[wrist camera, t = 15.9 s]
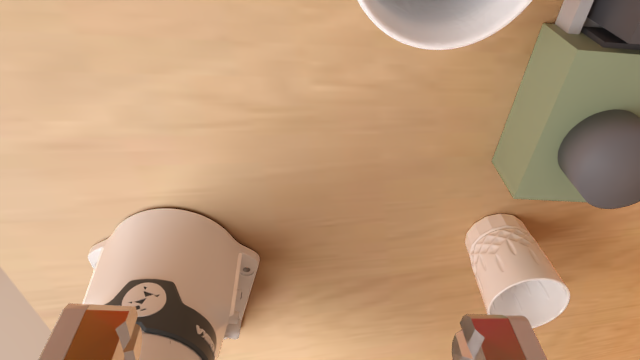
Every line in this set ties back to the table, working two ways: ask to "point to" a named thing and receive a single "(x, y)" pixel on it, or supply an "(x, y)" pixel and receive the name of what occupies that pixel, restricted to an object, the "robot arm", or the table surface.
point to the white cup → (514, 271)
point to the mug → (441, 20)
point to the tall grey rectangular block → (618, 18)
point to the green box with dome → (575, 117)
